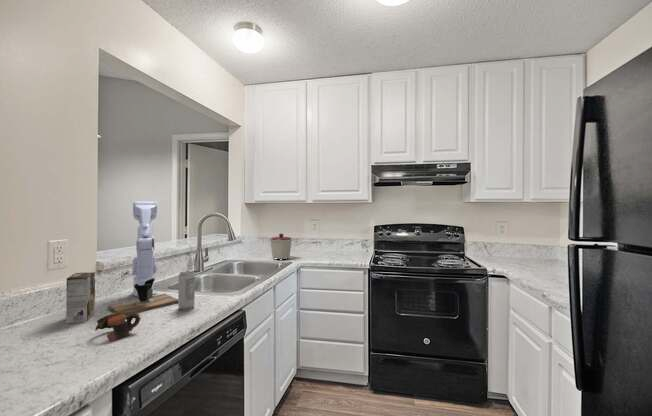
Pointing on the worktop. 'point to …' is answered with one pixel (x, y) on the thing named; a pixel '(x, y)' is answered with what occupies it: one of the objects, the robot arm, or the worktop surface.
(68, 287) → the coffee box
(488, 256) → the worktop surface
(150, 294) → the grey faceted polyhedron
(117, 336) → the brown rounded piece
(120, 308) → the board
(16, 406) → the worktop surface
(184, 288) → the energy drink can
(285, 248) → the canister
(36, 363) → the worktop surface
